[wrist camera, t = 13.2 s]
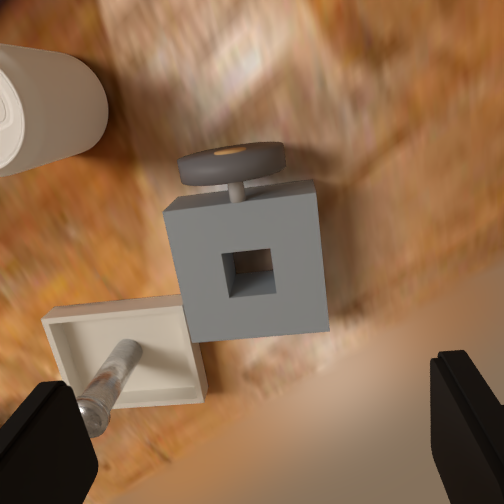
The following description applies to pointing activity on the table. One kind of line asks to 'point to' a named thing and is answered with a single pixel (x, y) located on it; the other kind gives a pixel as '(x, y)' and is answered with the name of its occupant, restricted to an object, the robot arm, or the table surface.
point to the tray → (140, 330)
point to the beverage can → (46, 108)
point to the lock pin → (108, 386)
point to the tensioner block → (247, 247)
